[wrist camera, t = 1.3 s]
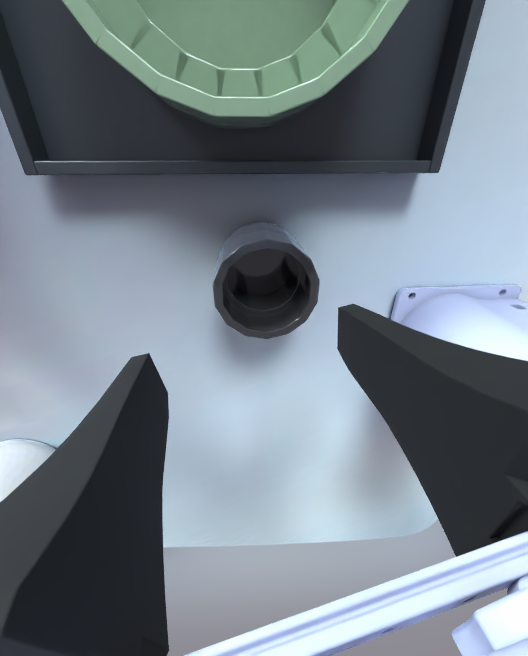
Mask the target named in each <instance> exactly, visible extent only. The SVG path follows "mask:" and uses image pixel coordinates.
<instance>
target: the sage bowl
mask: <svg viewBox="0 0 528 656" xmlns="http://www.w3.org/2000/svg"><path fill="white" fill-rule="evenodd" d="M62 1H63V3H64V4H65V5H66V7H67V8H68V9H69V11H70V12H71V13H72V15H73V16H74V17H75V19H76V20H77V21H78V22H79V24H80V25H81V26H82V28H83V29H84V30H85V32H86V33H87V34H88V36H89V37H90V38H91V40H92V41H93V42H94V43H95V44H96V45H97V46H98V47H99V48H100V49H101V50H102V51H103V52H105V53H106V54H107V55H108V56H109V57H111V58H112V59H113V60H114V61H116V62H117V63H118V64H119V65H120V66H122V67H123V68H124V69H125V70H127V71H128V72H129V73H130V74H131V75H133V76H134V77H135V78H136V79H138V80H139V81H140V82H141V83H143V84H144V85H145V86H146V87H147V88H149V89H150V90H151V91H152V92H154V93H155V94H156V95H157V96H159V97H160V98H161V99H162V100H164V101H165V102H166V103H167V104H168V105H170V106H171V107H172V108H173V109H175V110H176V111H177V112H179V113H181V114H183V115H185V116H188V117H190V118H193V119H196V120H198V121H201V122H203V123H206V124H208V125H211V126H214V127H216V128H221V129H260V128H261V129H263V128H265V127H268V126H270V125H273V124H276V123H278V122H281V121H283V120H286V119H288V118H291V117H293V116H296V115H298V114H299V113H301V112H303V111H304V110H305V109H307V108H308V107H309V106H311V105H312V104H314V103H315V102H316V101H318V100H319V99H320V98H322V97H323V96H324V95H326V94H327V93H328V92H329V91H330V90H331V89H333V88H334V87H335V86H336V85H337V84H338V83H339V82H341V81H342V80H343V79H344V78H345V77H346V76H348V75H349V74H350V73H351V72H352V71H353V70H355V69H356V68H357V67H358V66H359V65H360V64H362V63H363V62H364V61H365V60H366V59H367V58H368V57H370V56H371V55H372V54H373V52H375V51H376V49H377V48H378V46H379V45H380V43H381V42H382V40H383V39H384V37H385V36H386V34H387V33H388V31H389V30H390V28H391V27H392V25H393V24H394V22H395V21H396V20H397V18H398V17H399V15H400V14H401V12H402V11H403V9H404V8H405V6H406V5H407V3H408V2H409V0H62Z"/></svg>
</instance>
